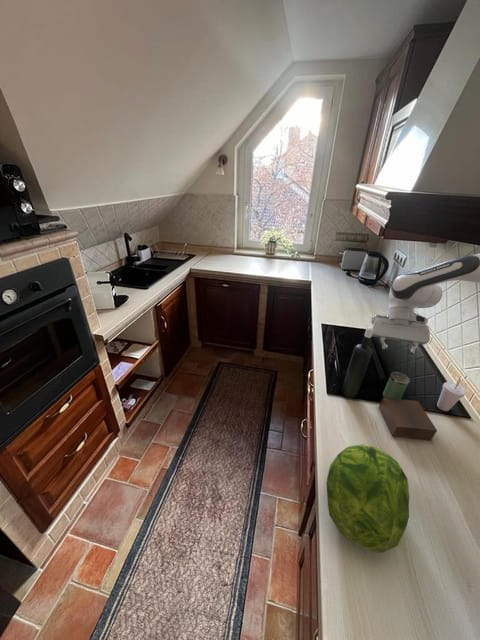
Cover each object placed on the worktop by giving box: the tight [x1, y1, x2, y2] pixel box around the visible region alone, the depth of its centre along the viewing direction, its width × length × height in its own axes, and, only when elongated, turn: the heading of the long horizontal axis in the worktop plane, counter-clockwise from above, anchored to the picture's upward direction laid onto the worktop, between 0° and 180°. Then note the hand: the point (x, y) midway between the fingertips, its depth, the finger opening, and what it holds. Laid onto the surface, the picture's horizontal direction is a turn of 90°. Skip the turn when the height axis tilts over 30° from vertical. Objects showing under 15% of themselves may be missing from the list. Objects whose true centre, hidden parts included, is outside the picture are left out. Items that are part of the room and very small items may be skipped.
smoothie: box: [436, 378, 467, 412], centre depth 90 cm, size 6×6×14 cm
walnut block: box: [378, 397, 438, 441], centre depth 86 cm, size 12×12×5 cm
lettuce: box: [325, 444, 410, 553], centre depth 62 cm, size 18×23×19 cm
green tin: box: [382, 371, 411, 399], centre depth 95 cm, size 6×6×10 cm
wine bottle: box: [340, 325, 374, 399], centre depth 91 cm, size 6×6×30 cm
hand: (397, 351), depth 98 cm, fingers open, 8 cm apart
